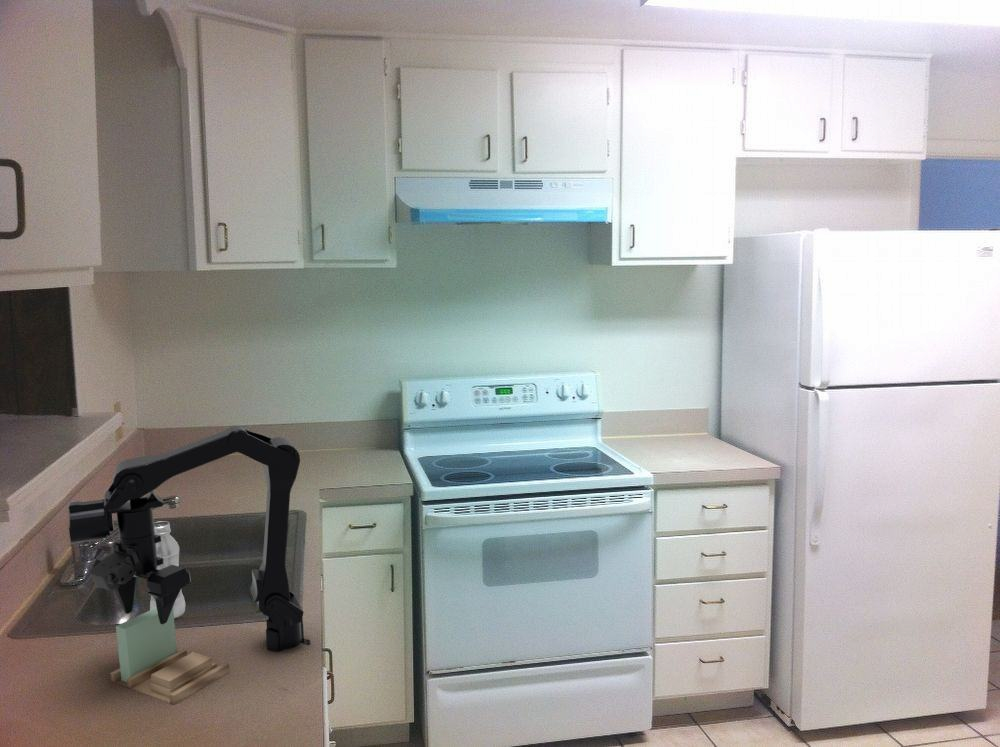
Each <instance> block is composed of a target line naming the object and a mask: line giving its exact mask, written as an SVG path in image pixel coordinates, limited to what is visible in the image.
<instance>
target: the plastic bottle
mask: <svg viewBox="0 0 1000 747" xmlns="http://www.w3.org/2000/svg"><path fill="white" fill-rule="evenodd" d="M170 524H171V523H170V522H169V521H166V520H165V521H164V520H163V521H161V520H160V521H156V522H155V521H154V529H155V535H159V536H161V541H160V542H158V543H156V549H157V557H160V558H163V564H161V565H159V566H157V569H158V570H161V569H163V568H165V567H168V566H170V565H175V566H179V564H180V560H179V559H180V546H179V545H180V544H178V542H177V541H176V539H175V537H173V536H172V535H171V534H170V533H171V532H172V529H171V525H170ZM179 567H180V566H179ZM149 604H150V605H149V611H150V610H152V609H154V608H156V601H155V598H154V597H152V596H151V595H150V602H149ZM173 612H174V620H175V619H177V618H180V617H181V616H183V615H184V613H185V612H186V601H185V596H184V595H183V592H182V589H181V590H180V592H179V594H178V596H177V598H176V600H175V603H174V605H173Z"/></svg>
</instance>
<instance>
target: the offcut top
mask: <svg viewBox="0 0 1000 747" xmlns="http://www.w3.org/2000/svg"><path fill="white" fill-rule="evenodd" d="M212 662H213V659H212V657H210V656H207V655H204V654H201V653H198V652H195V651H192V652H191V653H188V654H187V656H185V657H183V658H181V659H179V660H177V661H176V662H174V663H172V664H170V665H168V666H166V667H164V668H163V669H161V670H159V671H157V672H155V673H153V674H151V680H152V683H153V684H156V685H159V686H162V687H164V688H167V689H170V690H171V689H172V688H174V687H176V686H178V685H179V684H181V683H183V682H185V681H186V680H188V679H190V678H192V677H193V676H195V675H197V674H199V673H200V672H202V671H204V670H206V669H208V668H209V667H211V666H212Z"/></svg>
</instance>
